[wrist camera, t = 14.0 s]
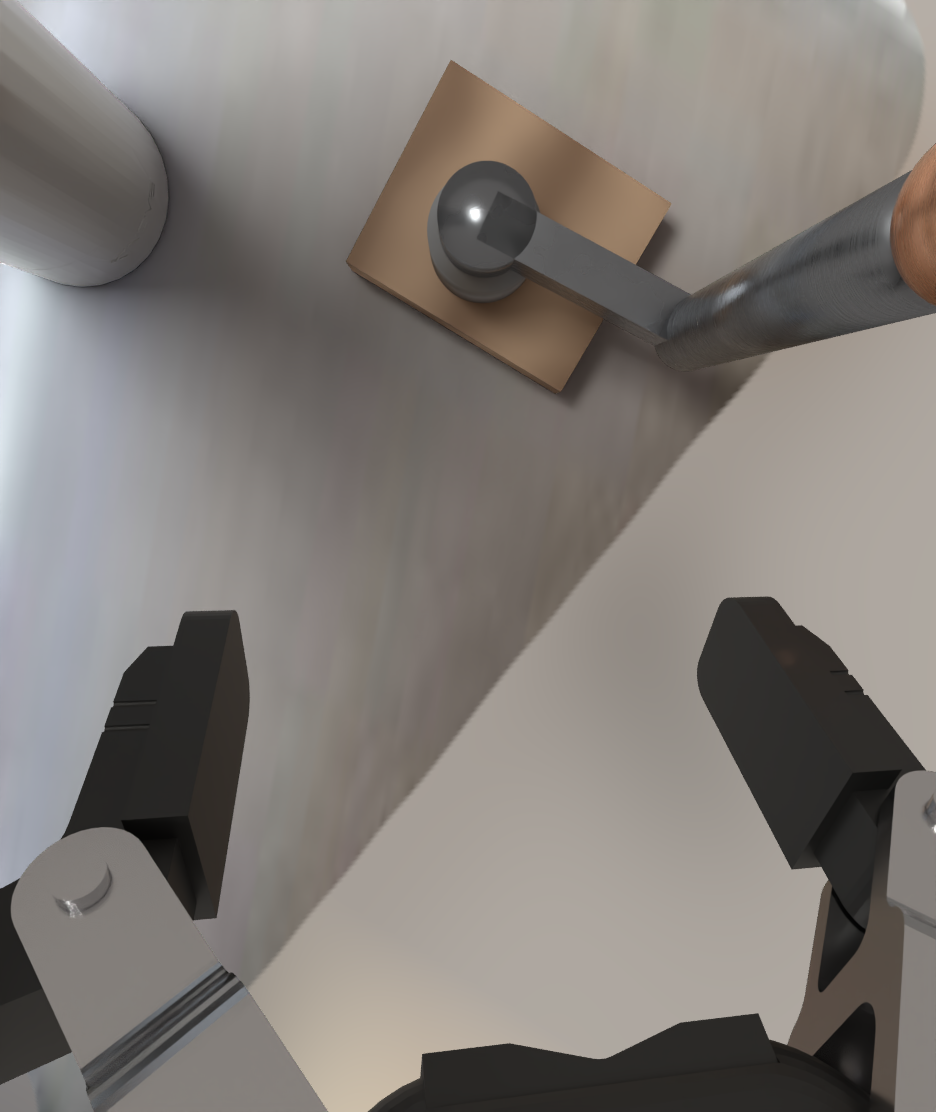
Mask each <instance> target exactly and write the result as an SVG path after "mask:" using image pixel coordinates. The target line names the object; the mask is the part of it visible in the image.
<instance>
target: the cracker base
mask: <svg viewBox="0 0 936 1112" xmlns="http://www.w3.org/2000/svg"><path fill="white" fill-rule="evenodd" d="M477 161H496V162H500V163H503V164H506V165H508V166H510V167H511V168H513V169H515V170H516V171H517V172H518V173H520V174H521V175H522V177H523V178H524V179H525V180H526V181H527V183H528V184H529V186H530V188H531V190H532V192H533V195H534V198H535V202H536V208H537V212H539V213H541V214H542V215H544V216H546V217H548V218H550V219H552V220H554V221H555V222H557V223H559V224H561V225H563V226H565V227H567V228H568V229H570V230H572V231H574V232H576V233H578V234H580V235H581V236H583V237H585V238H587V239H589V240H591V241H593V242H594V243H596V244H598V245H600V246H602V247H604V248H606V249H607V250H609V251H611V252H613V253H615V254H617V255H619V256H620V257H622V258H624V259H626V260H628V261H630V262H632V263H633V264H635V265H636V263H637V262H638V260H639V258H640V256H641V255H642V253H643V251H644V250H645V248H646V246H647V245H648V243H649V241H650V240H651V238H652V236H653V234H654V233H655V231H656V229H657V228H658V226H659V224H660V223H661V221H662V219H663V217H664V216H665V214H666V212H667V211H668V209H669V207H670V206H671V203H670V202H668V201H667V200H665V199H664V198H662V197H661V196H659V195H658V194H656V193H655V192H653V191H651V190H650V189H648V188H647V187H645V186H644V185H642V184H641V183H639V182H638V181H636V180H635V179H633V178H632V177H630V176H628V175H627V174H625V173H624V172H622V171H621V170H619V169H618V168H616V167H615V166H613V165H612V164H610V163H609V162H607V161H605V160H604V159H602V158H601V157H599V156H598V155H596V154H595V153H593V152H592V151H590V150H589V149H587V148H585V147H584V146H582V145H581V144H579V143H578V142H576V141H575V140H573V139H572V138H570V137H569V136H567V135H566V134H564V133H562V132H561V131H559V130H558V129H556V128H555V127H553V126H552V125H550V124H549V123H547V122H546V121H544V120H543V119H541V118H539V117H538V116H536V115H535V114H533V113H532V112H530V111H529V110H527V109H526V108H524V107H523V106H521V105H520V104H518V103H516V102H515V101H513V100H512V99H510V98H509V97H507V96H506V95H504V94H503V93H501V92H500V91H498V90H496V89H495V88H493V87H492V86H490V85H489V84H487V83H486V82H484V81H483V80H481V79H480V78H478V77H477V76H475V75H473V74H472V73H470V72H469V71H467V70H466V69H464V68H463V67H461V66H460V65H458V64H457V63H455V62H454V61H452V60H451V61H450V62H449V64H448V66H447V68H446V70H445V72H444V74H443V76H442V78H441V80H440V82H439V84H438V86H437V87H436V89H435V91H434V93H433V95H432V97H431V99H430V101H429V103H428V105H427V107H426V109H425V111H424V112H423V114H422V116H421V118H420V120H419V122H418V124H417V126H416V128H415V130H414V132H413V134H412V135H411V137H410V139H409V141H408V143H407V145H406V147H405V149H404V151H403V153H402V155H401V157H400V159H399V160H398V162H397V164H396V166H395V168H394V170H393V172H392V174H391V176H390V178H389V180H388V182H387V184H386V185H385V187H384V189H383V191H382V193H381V195H380V197H379V199H378V201H377V203H376V205H375V207H374V209H373V210H372V212H371V214H370V216H369V218H368V220H367V222H366V224H365V226H364V228H363V230H362V232H361V233H360V235H359V237H358V239H357V241H356V243H355V245H354V247H353V249H352V251H351V253H350V255H349V257H348V258H347V260H346V262H347V264H348V265H349V267H350V268H351V270H352V271H354V272H355V273H357V274H359V275H360V276H362V277H364V278H365V279H367V280H369V281H370V282H372V283H373V284H375V285H377V286H378V287H380V288H382V289H383V290H385V291H387V292H388V293H390V294H392V295H393V296H395V297H397V298H398V299H400V300H402V301H403V302H405V303H406V304H408V305H410V306H411V307H413V308H415V309H416V310H418V311H420V312H421V313H423V314H425V315H426V316H428V317H430V318H431V319H433V320H435V321H436V322H438V323H439V324H441V325H443V326H444V327H446V328H448V329H449V330H451V331H453V332H454V333H456V334H458V335H459V336H461V337H463V338H464V339H466V340H468V341H469V342H471V343H472V344H474V345H476V346H477V347H479V348H481V349H482V350H484V351H486V352H487V353H489V354H491V355H492V356H494V357H496V358H497V359H499V360H501V361H502V362H504V363H506V364H507V365H509V366H510V367H512V368H514V369H515V370H517V371H519V372H520V373H522V374H524V375H525V376H527V377H529V378H530V379H532V380H534V381H535V382H537V383H539V384H540V385H542V386H543V387H545V388H547V389H548V390H550V391H552V392H553V393H555V394H556V393H559V392H561V391H562V389H563V387H564V385H565V384H566V382H567V380H568V379H569V377H570V375H571V374H572V372H573V370H574V368H575V367H576V365H577V363H578V362H579V360H580V358H581V357H582V355H583V353H584V352H585V350H586V348H587V346H588V345H589V343H590V341H591V340H592V338H593V336H594V335H595V333H596V331H597V329H598V328H599V326H600V324H601V323H602V321H603V318H601V317H599V316H597V315H595V314H593V313H591V312H590V311H588V310H586V309H584V308H582V307H580V306H578V305H576V304H574V303H573V302H571V301H569V300H567V299H565V298H563V297H561V296H559V295H557V294H555V293H554V292H552V291H550V290H548V289H546V288H544V287H542V286H540V285H538V284H537V283H535V282H533V281H531V280H529V279H527V278H525V277H523V276H521V275H520V274H518V273H516V272H514V271H512V270H509V271H508V272H506V273H504V274H502V275H499V276H496V277H490V278H480V277H474V276H471V275H468V274H466V273H464V272H462V271H461V270H459V269H458V268H457V267H455V266H454V265H453V264H452V263H451V262H450V260H449V259H448V257H447V256H446V254H445V252H444V251H443V248H442V246H441V242H440V239H439V231H438V221H437V208H438V202H439V198H440V195H441V192H442V190H443V188H444V186H445V184H446V183H447V181H448V180H449V179H450V178H451V177H452V175H453V174H454V173H456V172H457V171H458V170H459V169H461V168H463V167H464V166H466V165H468V164H471V163H474V162H477Z"/></svg>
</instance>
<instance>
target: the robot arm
mask: <svg viewBox="0 0 936 1112" xmlns="http://www.w3.org/2000/svg"><path fill="white" fill-rule="evenodd" d="M168 200H169V196H168V183H167V175H166V171H165V168H164V164H163V160H162V157H161V154H160V152H159V150H158V148H157V146H156V144H155V142H154V140H153V138H152V136H151V135H150V133H149V132H148V131H147V129H146V128H145V127H144V125H143V124H142V123H141V121H140V120H139V119H138V118H137V117H136V116H135V115H134V114H133V113H132V112H131V111H130V110H129V109H128V108H127V107H126V106H125V105H124V104H123V103H122V102H121V101H120V100H119V99H118V98H117V97H116V96H115V95H114V94H113V93H112V92H111V91H110V90H109V89H108V88H106V87H105V86H104V85H103V84H102V83H101V82H100V81H99V80H98V79H97V78H96V77H95V76H94V75H93V74H92V72H91V71H90V70H88V69H87V68H86V67H85V66H84V65H83V64H82V63H81V62H80V61H79V60H78V59H77V58H76V57H75V56H74V55H73V54H72V53H71V52H70V51H69V50H68V49H67V48H66V47H65V46H64V45H63V44H62V43H61V42H59V41H58V40H57V39H56V38H55V37H54V36H53V35H52V34H51V33H50V32H49V31H48V30H47V29H46V28H45V27H44V26H43V25H42V24H41V23H40V22H39V21H38V20H37V19H36V18H35V17H34V16H33V15H31V14H30V13H29V12H28V11H27V10H26V9H25V8H24V7H23V6H22V5H21V4H20V3H19V2H18V1H17V0H0V263H2V264H5V265H8V266H11V267H14V268H17V269H20V270H22V271H25V272H28V273H31V274H34V275H37V276H40V277H43V278H46V279H48V280H51V281H54V282H57V283H60V284H64V285H72V286H80V287H85V286H95V285H103V284H105V283H108V282H111V281H114V280H117V279H120V278H121V277H123V276H125V275H126V274H128V273H129V272H131V271H133V270H134V269H136V268H137V267H138V266H139V265H140V264H141V263H142V262H143V261H144V260H145V259H146V258H147V257H148V256H149V254H150V253H151V251H152V249H153V248H154V246H155V245H156V243H157V241H158V240H159V238H160V235H161V232H162V229H163V227H164V224H165V221H166V216H167V208H168ZM697 679H698V686H699V690H700V693H701V696H702V698H703V700H704V702H705V704H706V706H707V708H708V710H709V712H710V714H711V715H712V717H713V719H714V721H715V723H716V725H717V727H718V729H719V731H720V733H721V735H722V737H723V739H724V741H725V742H726V744H727V746H728V748H729V750H730V752H731V754H732V756H733V758H734V760H735V761H736V764H737V765H738V767H739V769H740V771H741V773H742V775H743V777H744V779H745V781H746V783H747V785H748V787H749V788H750V790H751V792H752V794H753V796H754V798H755V800H756V802H757V804H758V806H759V808H760V810H761V811H762V813H763V815H764V817H765V819H766V821H767V823H768V825H769V827H770V828H771V831H772V832H773V834H774V836H775V838H776V840H777V842H778V844H779V846H780V848H781V850H782V852H783V854H784V855H785V857H786V859H787V861H788V863H789V865H790V867H791V869H802V868H813V867H822V869H823V871H824V872H825V874H826V876H827V878H828V879H829V880H828V881H827V883H826V884H825V886H824V888H823V890H822V894H821V899H820V905H819V911H818V917H817V924H816V930H815V936H814V942H813V948H812V955H811V961H810V967H809V973H808V979H807V985H806V992H805V997H804V1002H803V1005H802V1009H801V1012H800V1014H799V1017H798V1020H797V1022H796V1024H795V1026H794V1028H793V1030H792V1033H791V1035H790V1039H789V1041H788V1044H787V1045H785V1044H782V1043H779V1042H776V1041H772V1040H769V1039H768V1036H767V1034H766V1031H765V1029H764V1026H763V1024H762V1022H761V1019H760V1017H759V1014H749V1015H741V1016H733V1017H724V1018H716V1019H708V1020H699V1021H691V1022H683V1023H679V1024H677V1025H675V1026H673V1027H671V1028H669V1029H666V1030H664V1031H662V1032H660V1033H658V1034H656V1035H654V1036H652V1037H650V1038H648V1039H646V1040H644V1041H642V1042H640V1043H638V1044H636V1045H634V1046H632V1047H630V1048H628V1049H626V1050H624V1051H622V1052H620V1053H617V1054H615V1055H613V1056H611V1057H609V1058H606V1059H591V1058H586V1057H581V1056H575V1055H569V1054H564V1053H559V1052H553V1051H548V1050H542V1049H537V1048H531V1047H526V1046H521V1045H514V1044H500V1045H492V1046H484V1047H476V1048H467V1049H459V1050H451V1051H443V1052H434V1053H426V1054H422V1065H421V1076H420V1078H419V1079H417V1080H415V1081H413V1082H411V1083H409V1084H407V1085H405V1086H402V1087H401V1088H399V1089H398V1090H396V1091H395V1092H393V1093H391V1094H390V1095H388V1096H387V1097H385V1098H384V1099H383V1100H381V1101H380V1102H379V1103H377V1104H376V1105H375V1106H374V1107H373V1108H372V1109H370V1110H369V1111H368V1112H936V772H932V771H926V770H925V768H924V767H923V766H922V765H921V763H920V762H919V761H918V760H917V758H916V757H915V756H914V754H913V753H912V752H911V750H910V749H909V748H908V747H907V745H906V744H905V743H904V742H903V740H902V739H901V738H900V736H899V735H898V734H897V733H896V731H895V730H894V729H893V727H892V726H891V725H890V723H889V722H888V721H887V720H886V718H885V717H884V716H883V715H882V713H881V712H880V711H879V709H878V708H877V707H876V705H875V704H874V703H873V701H872V700H871V699H870V698H869V696H868V695H864V693H863V689H862V687H861V686H860V685H859V683H858V682H857V681H856V680H855V678H854V677H853V676H852V675H849V674H848V669H847V668H846V667H845V665H844V664H843V663H842V661H841V660H840V659H839V658H838V656H837V655H836V654H835V652H834V651H833V650H832V649H831V647H830V646H829V645H827V644H826V643H825V642H823V641H822V640H821V639H820V638H818V637H817V636H816V635H814V634H813V633H811V632H810V631H809V630H807V629H806V628H805V627H803V626H795V625H794V623H793V622H792V620H791V619H790V618H789V616H788V615H787V614H786V612H785V611H784V610H783V608H782V607H781V606H780V604H779V603H778V602H777V601H776V600H775V599H774V598H772V597H739V598H726V599H724V600H723V601H722V602H721V604H720V606H719V608H718V610H717V613H716V616H715V618H714V621H713V624H712V627H711V629H710V632H709V635H708V638H707V640H706V643H705V645H704V648H703V651H702V654H701V657H700V659H699V662H698V668H697ZM113 702H114V706H113V707H111V710H110V712H109V715H108V718H107V721H106V723H105V731H104V732H102V734H101V737H100V740H99V742H98V745H97V748H96V751H95V753H94V756H93V759H92V762H91V764H90V767H89V770H88V773H87V775H86V778H85V781H84V784H83V786H82V789H81V792H80V794H79V797H78V800H77V803H76V805H75V808H74V811H73V814H72V816H71V819H70V822H69V824H68V827H67V829H66V831H65V833H64V835H63V836H62V838H61V839H60V840H59V841H57V842H56V843H54V844H53V845H51V846H50V847H48V848H47V849H46V850H45V851H43V852H42V853H41V854H40V855H39V856H38V857H37V858H36V859H35V860H34V861H33V862H32V863H31V864H30V865H29V866H28V868H27V869H26V870H25V872H24V873H23V874H22V876H21V878H19V879H18V880H16V881H14V882H12V883H11V884H9V885H7V886H5V887H3V888H1V889H0V1085H1V1084H3V1083H5V1082H7V1081H9V1080H11V1079H14V1078H16V1077H18V1076H20V1075H22V1074H25V1073H27V1072H29V1071H31V1070H33V1069H36V1068H38V1067H40V1066H42V1065H44V1064H47V1063H49V1062H51V1061H53V1060H55V1059H58V1058H60V1057H62V1056H64V1055H66V1054H69V1053H71V1052H72V1053H73V1055H74V1057H75V1059H76V1061H77V1064H78V1066H79V1068H80V1070H81V1072H82V1075H83V1077H84V1080H85V1082H86V1086H87V1087H86V1091H87V1094H88V1097H89V1100H90V1103H91V1105H92V1108H93V1110H94V1112H328V1111H327V1109H326V1108H325V1106H324V1105H323V1103H322V1102H321V1100H320V1099H319V1097H318V1096H317V1094H316V1093H315V1091H314V1090H313V1088H312V1086H311V1085H310V1083H309V1082H308V1081H307V1079H306V1078H305V1076H304V1074H303V1073H302V1071H301V1070H300V1068H299V1067H298V1065H297V1064H296V1062H295V1061H294V1059H293V1058H292V1056H291V1055H290V1053H289V1052H288V1050H287V1049H286V1047H285V1046H284V1044H283V1043H282V1041H281V1040H280V1038H279V1037H278V1035H277V1033H276V1032H275V1030H274V1029H273V1027H272V1026H271V1024H270V1023H269V1021H268V1020H267V1018H266V1017H265V1015H264V1014H263V1012H262V1011H261V1009H260V1008H259V1006H258V1005H257V1003H256V1002H255V1000H254V999H253V997H252V996H251V994H250V993H249V991H248V990H247V989H246V987H245V986H244V985H243V983H242V982H241V981H240V980H239V979H238V977H237V976H236V975H235V974H233V973H228V972H227V971H226V970H225V969H224V967H223V966H222V965H221V963H220V962H219V960H218V959H217V957H216V956H215V954H214V953H213V951H212V950H211V948H210V947H209V945H208V944H207V942H206V940H205V939H204V937H203V936H202V934H201V933H200V931H199V930H198V928H197V927H196V925H195V924H194V922H193V920H200V919H211V918H217V912H218V906H219V900H220V893H221V887H222V881H223V874H224V868H225V862H226V855H227V849H228V843H229V837H230V830H231V824H232V818H233V811H234V805H235V799H236V793H237V786H238V780H239V774H240V767H241V761H242V755H243V748H244V742H245V736H246V730H247V723H248V716H249V702H250V692H249V678H248V672H247V666H246V660H245V653H244V647H243V641H242V635H241V629H240V622H239V617H238V614H237V612H236V611H235V610H225V611H189V612H185V613H184V614H183V616H182V619H181V622H180V625H179V629H178V632H177V635H176V639H175V642H174V645H173V646H154V647H147V648H146V649H145V650H144V652H143V653H142V654H141V655H140V656H139V657H138V658H137V659H136V660H135V661H134V662H133V663H132V664H131V666H130V667H129V668H128V669H127V670H126V671H125V672H124V674H123V677H122V679H121V682H120V685H119V688H118V690H117V693H116V696H115V699H114V701H113Z"/></svg>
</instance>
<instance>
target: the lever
mask: <svg viewBox="0 0 936 1112" xmlns="http://www.w3.org/2000/svg"><path fill="white" fill-rule="evenodd" d="M437 221H438V231H439V239H440V242H441V246H442V248H443V251H444V252H445V254H446V256H447V257H448V259H449V260H450V262H451V263H452V264H453V265H454V266H455V267H457V268H458V269H459V270H461V271H462V272H464V273H466V274H468V275H471V276H474V277H480V278H490V277H496V276H499V275H502V274H504V273H506V272H508V271H509V270H512V271H514V272H516V273H518V274H520V275H521V276H523V277H525V278H527V279H529V280H531V281H533V282H535V283H537V284H538V285H540V286H542V287H544V288H546V289H548V290H550V291H552V292H554V293H555V294H557V295H559V296H561V297H563V298H565V299H567V300H569V301H571V302H573V303H574V304H576V305H578V306H580V307H582V308H584V309H586V310H588V311H590V312H591V313H593V314H595V315H597V316H599V317H601V318H603V319H605V320H607V321H608V322H610V323H612V324H614V325H616V326H618V327H620V328H622V329H624V330H626V331H627V332H629V333H631V334H633V335H635V336H637V337H639V338H641V339H643V340H644V341H646V342H648V343H650V344H652V345H654V346H655V349H656V352H657V354H658V356H659V357H660V359H661V360H662V361H663V362H664V363H665V364H666V365H667V366H669V367H670V368H672V369H675V370H678V371H694V370H698V369H702V368H706V367H710V366H715V365H719V364H723V363H727V362H731V361H736V360H740V359H744V358H748V357H752V356H757V355H761V354H765V353H769V352H773V351H778V350H782V349H786V348H790V347H794V346H799V345H802V344H807V343H811V342H815V341H819V340H824V339H828V338H832V337H836V336H840V335H844V334H849V333H853V332H857V331H862V330H866V329H870V328H874V327H878V326H882V325H887V324H891V323H895V322H899V321H904V320H908V319H912V318H916V317H920V316H924V315H929V314H933V313H936V143H935V144H934V145H933V146H932V147H931V148H930V149H929V150H928V151H927V152H926V153H925V154H924V156H923V157H922V158H921V159H920V160H919V162H918V163H917V164H916V165H915V167H914V168H913V170H911V171H910V172H908V173H906V174H904V175H902V176H901V177H899V178H897V179H895V180H894V181H892V182H890V183H888V184H886V185H885V186H883V187H881V188H879V189H878V190H876V191H874V192H872V193H871V194H869V195H867V196H865V197H864V198H862V199H860V200H858V201H856V202H855V203H853V204H851V205H849V206H848V207H846V208H844V209H842V210H841V211H839V212H837V213H835V214H833V215H832V216H830V217H828V218H826V219H825V220H823V221H821V222H819V223H818V224H816V225H814V226H812V227H810V228H809V229H807V230H805V231H803V232H802V233H800V234H798V235H796V236H795V237H793V238H791V239H789V240H787V241H786V242H784V243H782V244H780V245H779V246H777V247H775V248H773V249H772V250H770V251H768V252H766V253H764V254H763V255H761V256H759V257H757V258H756V259H754V260H752V261H750V262H749V263H747V264H745V265H743V266H741V267H740V268H738V269H736V270H734V271H733V272H731V273H729V274H727V275H726V276H724V277H722V278H720V279H718V280H717V281H715V282H713V283H711V284H710V285H708V286H706V287H704V288H703V289H701V290H699V291H697V292H695V293H694V294H692V295H691V294H689V293H687V292H685V291H683V290H682V289H680V288H678V287H676V286H674V285H672V284H670V283H669V282H667V281H665V280H663V279H661V278H659V277H657V276H656V275H654V274H652V273H650V272H648V271H646V270H644V269H643V268H641V267H639V266H637V265H635V264H633V263H632V262H630V261H628V260H626V259H624V258H622V257H620V256H619V255H617V254H615V253H613V252H611V251H609V250H607V249H606V248H604V247H602V246H600V245H598V244H596V243H594V242H593V241H591V240H589V239H587V238H585V237H583V236H581V235H580V234H578V233H576V232H574V231H572V230H570V229H568V228H567V227H565V226H563V225H561V224H559V223H557V222H555V221H554V220H552V219H550V218H548V217H546V216H544V215H542V214H541V213H539V212H537V208H536V202H535V198H534V195H533V192H532V190H531V188H530V186H529V184H528V183H527V181H526V180H525V179H524V178H523V177H522V175H521V174H520V173H518V172H517V171H516V170H515V169H513V168H511V167H510V166H508V165H506V164H503V163H500V162H496V161H477V162H474V163H471V164H468V165H466V166H464V167H463V168H461V169H459V170H458V171H457V172H456V173H454V174H453V175H452V177H451V178H450V179H449V180H448V181H447V183H446V184H445V186H444V188H443V190H442V192H441V195H440V198H439V202H438V208H437Z"/></svg>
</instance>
